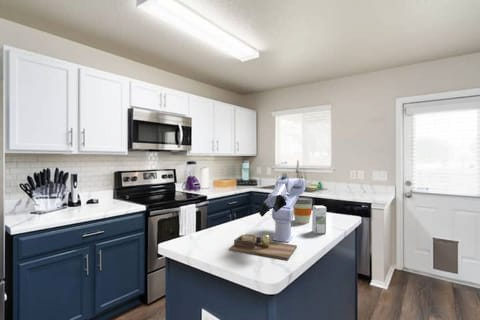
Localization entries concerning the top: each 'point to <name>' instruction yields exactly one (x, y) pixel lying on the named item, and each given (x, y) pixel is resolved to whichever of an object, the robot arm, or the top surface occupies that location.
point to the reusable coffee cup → (302, 210)
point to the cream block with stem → (253, 239)
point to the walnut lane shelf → (273, 251)
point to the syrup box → (319, 220)
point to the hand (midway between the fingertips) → (267, 212)
